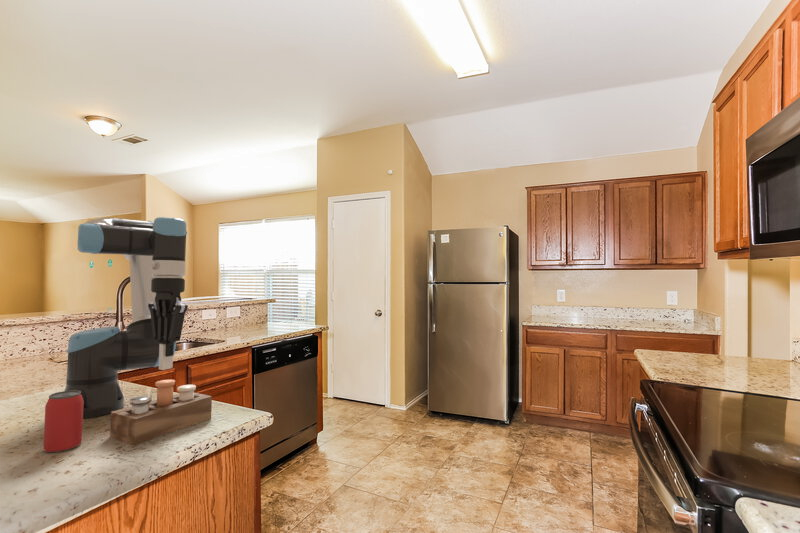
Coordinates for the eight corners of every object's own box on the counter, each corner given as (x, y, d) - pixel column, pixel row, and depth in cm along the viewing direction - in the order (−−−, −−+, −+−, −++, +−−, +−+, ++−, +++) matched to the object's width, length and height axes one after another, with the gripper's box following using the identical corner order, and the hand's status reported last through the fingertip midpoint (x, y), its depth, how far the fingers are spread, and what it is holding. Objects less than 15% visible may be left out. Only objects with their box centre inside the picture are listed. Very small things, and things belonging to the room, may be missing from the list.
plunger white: (173, 413, 105) (173, 387, 105) (188, 408, 109) (188, 383, 109) (183, 415, 103) (184, 390, 103) (198, 411, 107) (199, 386, 107)
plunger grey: (125, 428, 94) (126, 399, 94) (143, 422, 98) (144, 395, 98) (135, 431, 92) (137, 402, 92) (154, 425, 96) (155, 397, 96)
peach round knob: (150, 409, 100) (151, 382, 100) (167, 404, 104) (168, 378, 104) (161, 412, 98) (162, 384, 98) (178, 407, 102) (179, 380, 102)
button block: (109, 437, 94) (110, 412, 94) (187, 412, 112) (188, 391, 112) (134, 445, 89) (135, 419, 89) (211, 418, 107) (211, 396, 107)
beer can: (59, 455, 84) (61, 399, 84) (35, 452, 85) (37, 396, 86) (89, 442, 90) (91, 390, 91) (66, 440, 92) (68, 388, 92)
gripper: (138, 277, 101) (135, 368, 100) (170, 277, 95) (167, 374, 94) (167, 277, 108) (164, 363, 107) (198, 277, 102) (195, 368, 101)
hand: (165, 368), depth 101 cm, fingers closed
